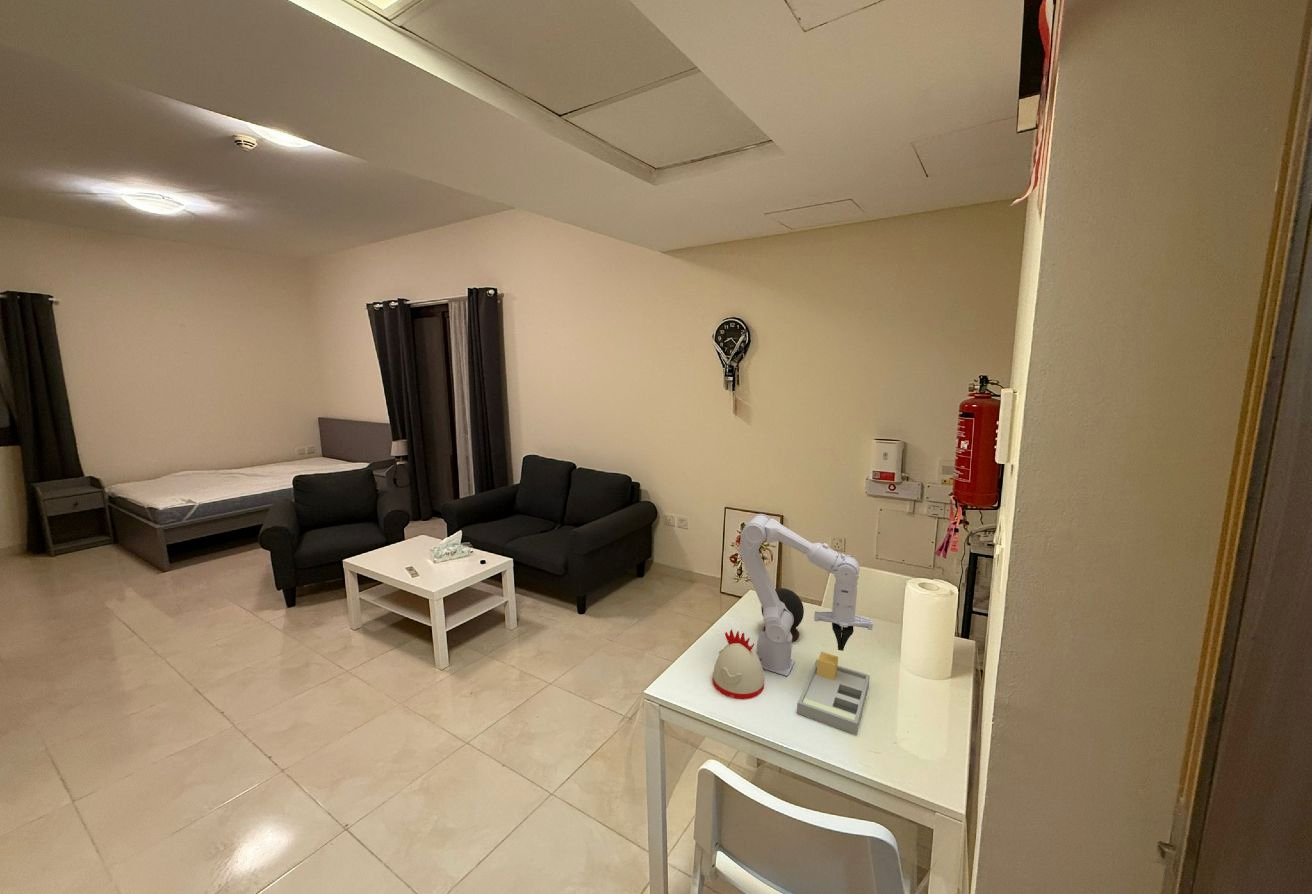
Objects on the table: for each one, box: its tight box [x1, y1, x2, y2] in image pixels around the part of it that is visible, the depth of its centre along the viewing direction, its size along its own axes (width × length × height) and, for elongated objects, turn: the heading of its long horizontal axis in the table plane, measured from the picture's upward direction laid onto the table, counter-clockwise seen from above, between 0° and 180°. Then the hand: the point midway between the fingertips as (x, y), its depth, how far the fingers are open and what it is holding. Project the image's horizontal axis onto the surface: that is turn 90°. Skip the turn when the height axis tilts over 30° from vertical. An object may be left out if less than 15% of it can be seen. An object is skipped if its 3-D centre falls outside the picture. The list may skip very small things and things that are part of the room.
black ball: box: [761, 587, 805, 644], centre depth 158 cm, size 13×13×15 cm
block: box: [817, 651, 839, 680], centre depth 136 cm, size 4×4×4 cm
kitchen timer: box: [712, 628, 765, 700], centre depth 134 cm, size 14×14×15 cm
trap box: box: [796, 658, 871, 736], centre depth 129 cm, size 14×21×3 cm, turn 150°
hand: (840, 648), depth 134 cm, fingers closed
